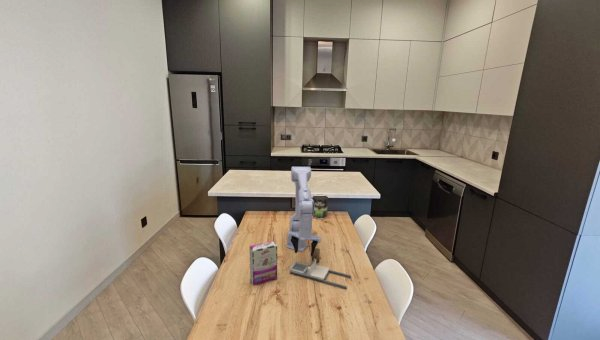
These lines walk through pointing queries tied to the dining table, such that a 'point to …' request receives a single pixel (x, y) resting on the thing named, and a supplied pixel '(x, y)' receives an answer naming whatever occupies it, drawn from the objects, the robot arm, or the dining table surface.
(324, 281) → the board
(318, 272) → the cover
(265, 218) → the dining table surface
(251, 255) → the candy bar box
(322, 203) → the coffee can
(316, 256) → the peg
